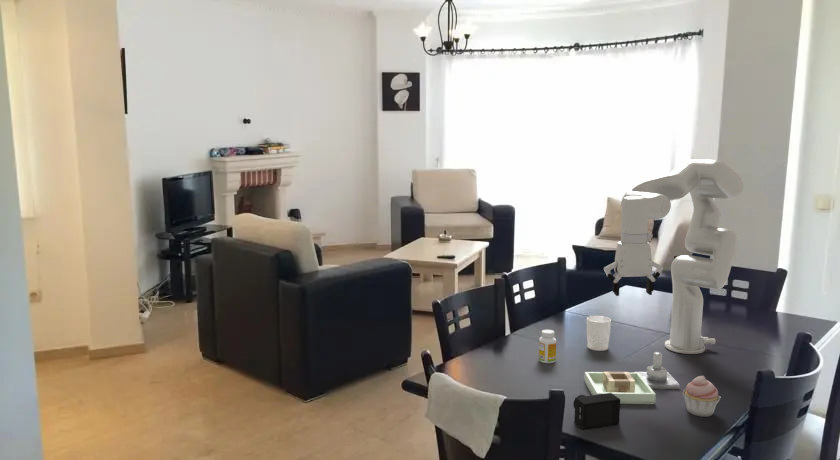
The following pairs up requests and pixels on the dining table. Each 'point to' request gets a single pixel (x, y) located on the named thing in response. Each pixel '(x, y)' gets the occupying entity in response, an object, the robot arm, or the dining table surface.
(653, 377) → the grey stand
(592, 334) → the white cup
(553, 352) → the supplement bottle
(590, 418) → the digital camera
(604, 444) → the dining table surface
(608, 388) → the wooden square frame
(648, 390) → the tray
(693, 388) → the cupcake
